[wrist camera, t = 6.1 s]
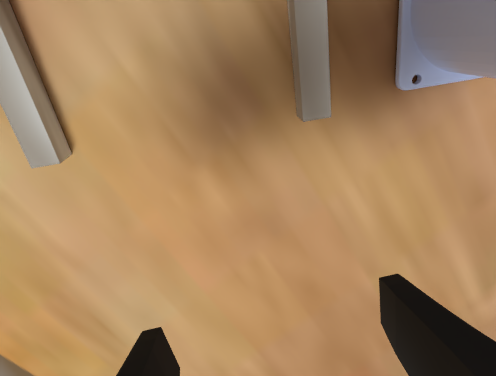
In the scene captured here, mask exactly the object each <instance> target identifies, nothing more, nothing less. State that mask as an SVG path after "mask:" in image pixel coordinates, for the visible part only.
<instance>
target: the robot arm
mask: <svg viewBox="0 0 496 376" xmlns="http://www.w3.org/2000/svg"><path fill="white" fill-rule="evenodd" d="M415 75H417V81H416V82H415V83H412V78H413V77H414V76H415ZM482 77H489V78H496V0H399V18H398V39H397V59H396V80H395V82H396V86H397V88H399V89H400V90H412V89H418V88H424V87H430V86H435V85H441V84H447V83H453V82H459V81H465V80H471V79H476V78H482ZM379 287H380V312H381V324H382V326H383V328H384V330H385V333H386V335H387V337H388V339H389V341H390V343H391V345H392V347H393V349H394V351H395V353H396V355H397V357H398V359H399V360H400V362H401V364H402V365H403V367H404V369H405V370H406V372H407V373H408V375H409V376H496V342H495V341H494V340H492V339H491V338H489V337H487V336H486V335H484V334H483V333H481V332H480V331H478V330H477V329H475V328H474V327H472V326H471V325H469V324H468V323H466V322H465V321H463V320H462V319H460V318H459V317H457V316H456V315H455V314H453V313H452V312H450V311H449V310H447V309H446V308H444V307H443V306H442V305H440V304H439V303H437V302H436V301H435V300H433V299H432V298H431V297H429V296H428V295H426V294H425V293H424V292H422V291H421V290H420V289H418V288H417V287H416V286H414V285H413V284H412V283H410V282H409V281H408V280H406V279H405V278H403V277H402V276H401V275H399V274H394V275H390V276H385V277H381V278H379ZM116 376H180V367H179V365H178V363H177V360H176V358H175V356H174V354H173V352H172V350H171V348H170V345H169V343H168V341H167V339H166V337H165V335H164V333H163V330H162V328H161V327H159V328H154V329H150V330H146V331H142V333H141V334H140V336H139V338H138V339H137V341H136V343H135V345H134V346H133V348H132V350H131V351H130V353H129V355H128V357H127V358H126V360H125V362H124V363H123V365H122V367H121V368H120V370H119V372H118V374H117V375H116Z"/></svg>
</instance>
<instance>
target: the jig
mask: <svg viewBox="0 0 496 376" xmlns="http://www.w3.org/2000/svg"><path fill="white" fill-rule="evenodd" d="M287 3H288V15H289V27H290V39H291V51H292V63H293V75H294V87H295V99H296V111H297V116H298V117H299V118H300V119H301V120H302V121H303V122H305V121H311V120H317V119H323V118H329V117H331V97H330V70H329V43H328V16H327V0H287ZM0 104H1V106H2V108H3V110H4V112H5V114H6V116H7V118H8V120H9V123H10V125H11V127H12V129H13V131H14V133H15V135H16V137H17V139H18V141H19V143H20V145H21V148H22V150H23V152H24V154H25V156H26V158H27V160H28V162H29V164H30V166H31V168H36V167H42V166H48V165H54V164H60V163H61V162H63V161H64V160H65V159H66V158H68V157H69V156H70V155H72V153H71V150H70V148H69V146H68V143H67V141H66V138H65V136H64V133H63V131H62V129H61V126H60V124H59V121H58V119H57V116H56V114H55V112H54V109H53V107H52V104H51V102H50V99H49V97H48V95H47V92H46V90H45V87H44V85H43V82H42V80H41V78H40V75H39V73H38V70H37V68H36V65H35V63H34V61H33V58H32V56H31V53H30V51H29V48H28V46H27V44H26V41H25V39H24V36H23V34H22V31H21V29H20V27H19V24H18V22H17V19H16V17H15V14H14V12H13V10H12V7H11V5H10V2H9V0H0Z"/></svg>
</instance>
